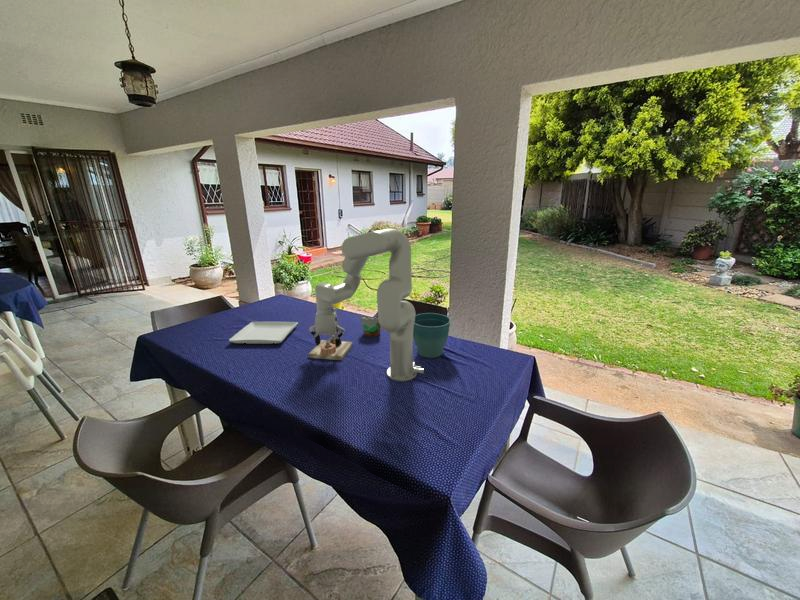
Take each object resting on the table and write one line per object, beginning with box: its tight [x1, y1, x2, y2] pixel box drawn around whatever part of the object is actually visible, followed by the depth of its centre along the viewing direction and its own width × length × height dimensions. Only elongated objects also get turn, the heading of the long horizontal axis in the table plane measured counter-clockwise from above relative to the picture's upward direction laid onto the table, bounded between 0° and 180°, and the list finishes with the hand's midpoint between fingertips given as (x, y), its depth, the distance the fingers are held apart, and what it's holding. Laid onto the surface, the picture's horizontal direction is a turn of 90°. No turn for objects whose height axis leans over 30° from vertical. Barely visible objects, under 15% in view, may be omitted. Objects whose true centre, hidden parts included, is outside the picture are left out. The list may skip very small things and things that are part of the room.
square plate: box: [228, 321, 299, 345], centre depth 181 cm, size 27×27×4 cm
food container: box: [360, 314, 381, 338], centre depth 179 cm, size 12×6×10 cm, turn 62°
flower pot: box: [413, 312, 451, 359], centre depth 158 cm, size 18×18×17 cm
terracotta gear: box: [321, 343, 336, 354], centre depth 158 cm, size 7×7×2 cm
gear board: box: [308, 335, 353, 361], centre depth 161 cm, size 16×16×6 cm
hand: (328, 345), depth 157 cm, fingers open, 9 cm apart
